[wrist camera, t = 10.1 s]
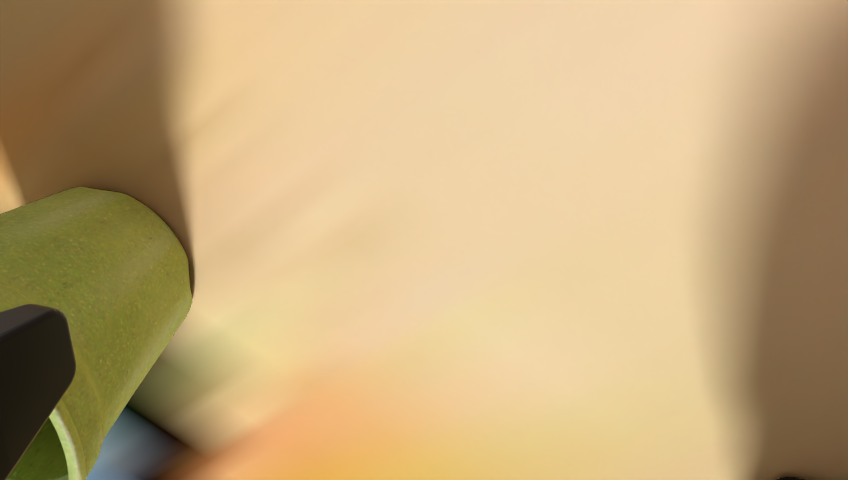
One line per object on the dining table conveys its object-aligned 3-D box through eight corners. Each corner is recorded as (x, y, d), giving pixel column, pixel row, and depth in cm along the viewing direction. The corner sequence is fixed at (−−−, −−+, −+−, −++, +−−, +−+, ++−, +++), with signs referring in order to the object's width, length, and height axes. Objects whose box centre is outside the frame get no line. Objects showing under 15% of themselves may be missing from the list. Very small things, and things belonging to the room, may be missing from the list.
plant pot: (79, 76, 23) (-193, 180, 15) (293, 287, 24) (142, 474, 17) (-35, 238, 27) (-288, 380, 20) (152, 407, 29) (-17, 597, 21)
